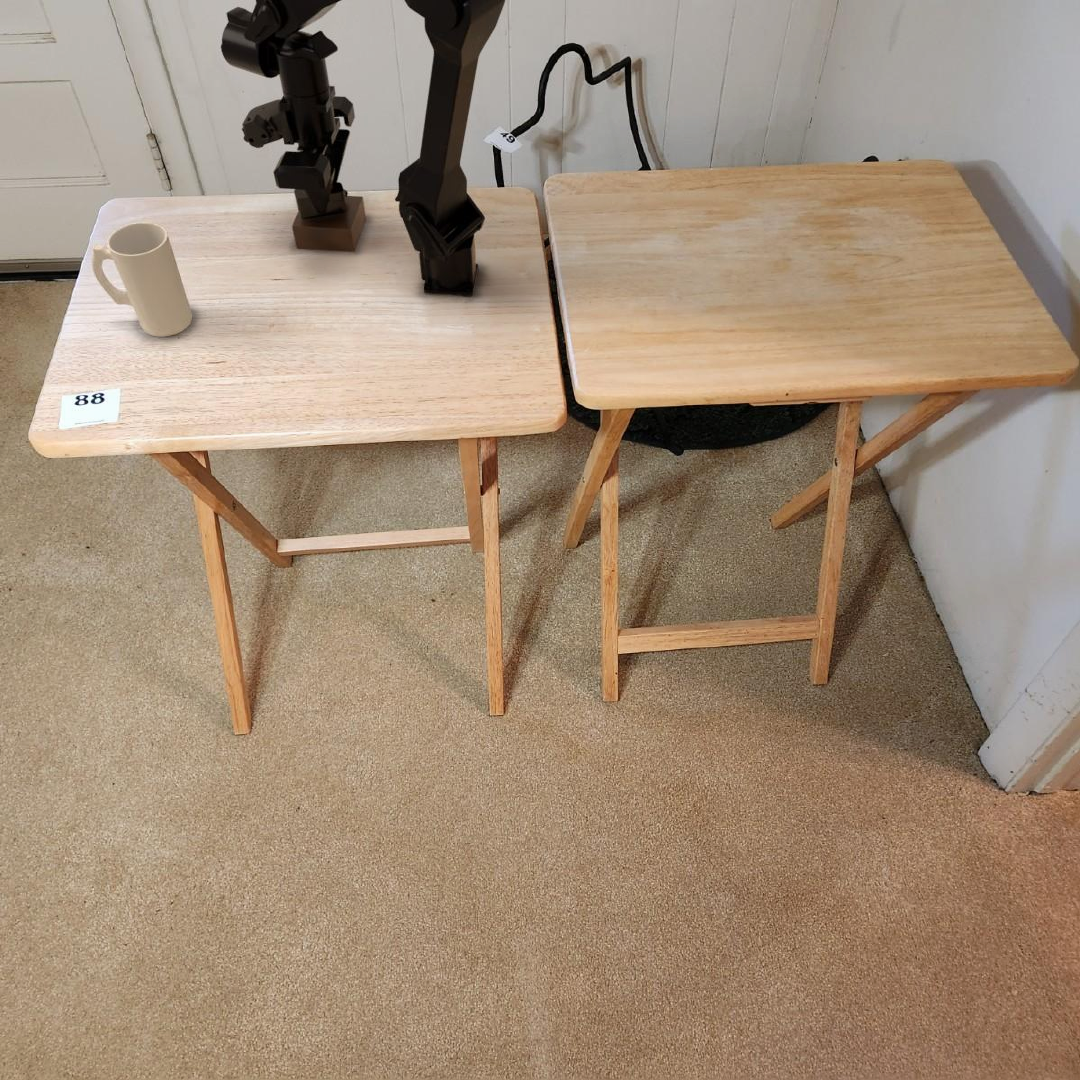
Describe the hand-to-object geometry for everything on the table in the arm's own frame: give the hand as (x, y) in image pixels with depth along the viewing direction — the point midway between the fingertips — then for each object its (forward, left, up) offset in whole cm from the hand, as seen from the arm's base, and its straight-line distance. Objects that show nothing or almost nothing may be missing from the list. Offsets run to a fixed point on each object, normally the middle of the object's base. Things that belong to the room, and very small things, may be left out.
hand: (326, 201), depth 131 cm
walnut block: (0, 0, -5) cm, 5 cm away
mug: (+18, +21, -5) cm, 28 cm away
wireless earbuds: (0, 0, -1) cm, 1 cm away
